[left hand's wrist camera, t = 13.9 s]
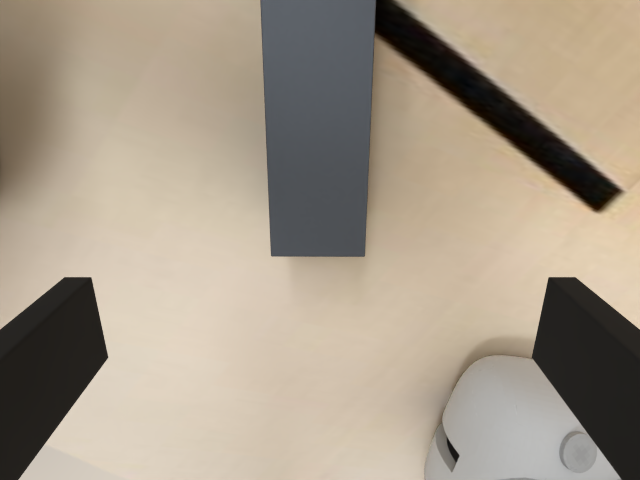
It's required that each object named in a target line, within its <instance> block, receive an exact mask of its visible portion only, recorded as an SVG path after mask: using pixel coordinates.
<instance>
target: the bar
mask: <svg viewBox="0 0 640 480" xmlns="http://www.w3.org/2000/svg"><path fill="white" fill-rule="evenodd" d="M375 9H376V0H261V24H262V48H263V73H264V97H265V121H266V145H267V169H268V193H269V218H270V242H271V256H328V257H364V256H365V240H366V217H367V194H368V171H369V148H370V125H371V102H372V79H373V55H374V32H375Z"/></svg>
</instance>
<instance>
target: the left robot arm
mask: <svg viewBox="0 0 640 480" xmlns="http://www.w3.org/2000/svg"><path fill="white" fill-rule="evenodd" d="M107 358H108V354H107V350H106V345H105V340H104V335H103V331H102V326H101V321H100V316H99V312H98V307H97V302H96V297H95V293H94V288H93V283H92V278H91V277H64V278H63V279H62V280H61V281H60V282H58V283H57V284H56V285H55V286H53V287H52V288H51V289H50V290H48V291H47V292H46V293H45V294H44V295H42V296H41V297H40V298H39V299H37V300H36V301H35V302H34V303H33V304H31V305H30V306H29V307H28V308H26V309H25V310H24V311H23V312H21V313H20V314H19V315H18V316H17V317H15V318H14V319H13V320H12V321H10V322H9V323H8V324H7V325H5V326H4V327H3V328H2V329H1V330H0V480H18V479H19V478H20V477H21V475H22V474H23V473H24V471H25V470H26V469H27V467H28V466H29V464H30V463H31V462H32V460H33V459H34V458H35V456H36V455H37V454H38V452H39V451H40V450H41V448H42V447H43V445H44V444H45V443H46V441H47V440H48V439H49V437H50V436H51V435H52V433H53V432H54V431H55V429H56V428H57V426H58V425H59V424H60V422H61V421H62V420H63V418H64V417H65V416H66V414H67V413H68V411H69V410H70V409H71V407H72V406H73V405H74V403H75V402H76V401H77V399H78V398H79V397H80V395H81V394H82V392H83V391H84V390H85V388H86V387H87V386H88V384H89V383H90V382H91V380H92V379H93V378H94V376H95V375H96V373H97V372H98V371H99V369H100V368H101V367H102V365H103V364H104V363H105V361H106V360H107ZM532 358H533V360H534V361H535V363H536V364H537V365H538V367H539V368H540V369H541V371H542V372H543V373H544V375H545V376H546V378H547V379H548V380H549V382H550V383H551V384H552V386H553V387H554V388H555V390H556V391H557V392H558V394H559V395H560V397H561V398H562V399H563V401H564V402H565V403H566V405H567V406H568V407H569V409H570V410H571V411H572V413H573V414H574V416H575V417H576V418H577V420H578V421H579V422H580V424H581V425H582V426H583V428H584V429H585V431H586V432H587V433H588V435H589V436H590V437H591V439H592V440H593V441H594V443H595V444H596V445H597V447H598V448H599V450H600V451H601V452H602V454H603V455H604V456H605V458H606V459H607V460H608V462H609V463H610V464H611V466H612V467H613V469H614V470H615V471H616V473H617V474H618V475H619V477H620V478H621V479H622V480H640V330H639V329H638V328H637V327H636V326H635V325H633V324H632V323H631V322H630V321H628V320H627V319H626V318H625V317H623V316H622V315H621V314H620V313H619V312H617V311H616V310H615V309H614V308H612V307H611V306H610V305H609V304H607V303H606V302H605V301H604V300H603V299H601V298H600V297H599V296H598V295H596V294H595V293H594V292H593V291H592V290H590V289H589V288H588V287H587V286H585V285H584V284H583V283H582V282H580V281H579V280H578V279H577V278H576V277H549V278H548V283H547V288H546V293H545V297H544V302H543V307H542V312H541V316H540V321H539V326H538V331H537V335H536V340H535V345H534V350H533V354H532Z"/></svg>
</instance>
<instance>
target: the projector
mask: <svg viewBox="0 0 640 480" xmlns="http://www.w3.org/2000/svg"><path fill="white" fill-rule="evenodd" d="M424 475H425V480H622V479H621V478H620V477H619V475H618V474H617V473H616V471H615V470H614V469H613V467H612V466H611V464H610V463H609V462H608V460H607V459H606V458H605V456H604V455H603V454H602V452H601V451H600V450H599V448H598V447H597V445H596V444H595V443H594V441H593V440H592V439H591V437H590V436H589V435H588V433H587V432H586V431H585V429H584V428H583V426H582V425H581V424H580V422H579V421H578V420H577V418H576V417H575V416H574V414H573V413H572V411H571V410H570V409H569V407H568V406H567V405H566V403H565V402H564V401H563V399H562V398H561V397H560V395H559V394H558V392H557V391H556V390H555V388H554V387H553V386H552V384H551V383H550V382H549V380H548V379H547V378H546V376H545V375H544V373H543V372H542V371H541V369H540V368H539V367H538V365H537V364H536V363H535V361H534V360H533V359H529V358H523V357H517V356H507V355H492V356H487V357H483V358H481V359H479V360H477V361H475V362H474V363H473V364H471V365H470V366H469V367H468V368H467V370H466V371H465V372H464V373H463V374H462V376H461V377H460V379H459V381H458V382H457V384H456V386H455V388H454V390H453V392H452V394H451V396H450V398H449V401H448V403H447V405H446V408H445V410H444V412H443V417H442V423H441V424H440V425H439V426H438V428H437V430H436V432H435V435H434V437H433V440H432V442H431V445H430V448H429V451H428V454H427V457H426V462H425V468H424Z"/></svg>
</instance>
